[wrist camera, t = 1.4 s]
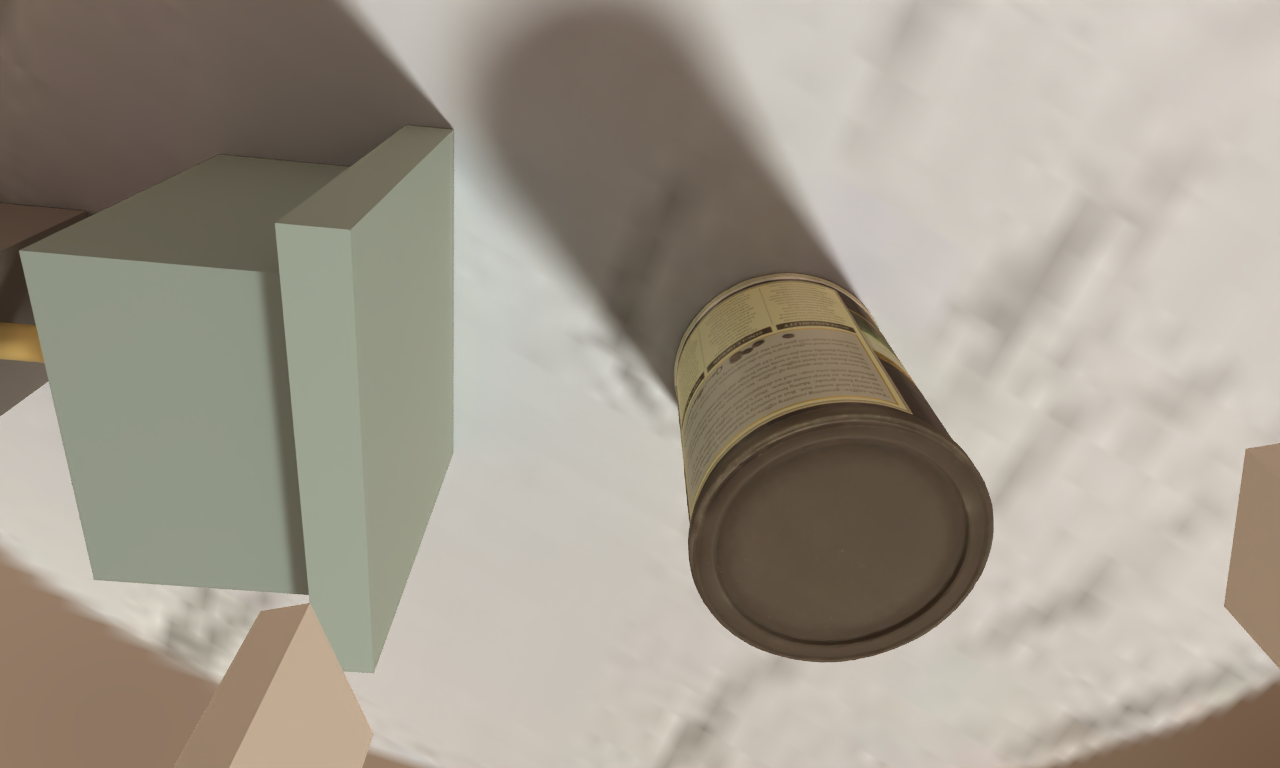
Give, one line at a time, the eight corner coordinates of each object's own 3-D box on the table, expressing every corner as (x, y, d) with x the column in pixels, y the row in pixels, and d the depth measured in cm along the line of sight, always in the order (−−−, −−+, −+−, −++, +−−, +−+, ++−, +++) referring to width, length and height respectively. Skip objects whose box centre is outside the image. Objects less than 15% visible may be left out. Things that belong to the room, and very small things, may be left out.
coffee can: (927, 323, 41) (1058, 487, 28) (816, 489, 45) (887, 698, 32) (734, 232, 39) (783, 366, 26) (636, 416, 43) (638, 607, 30)
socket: (251, 437, 43) (80, 653, 30) (213, 106, 36) (-34, 195, 23) (453, 452, 44) (373, 673, 30) (453, 129, 37) (350, 229, 23)
